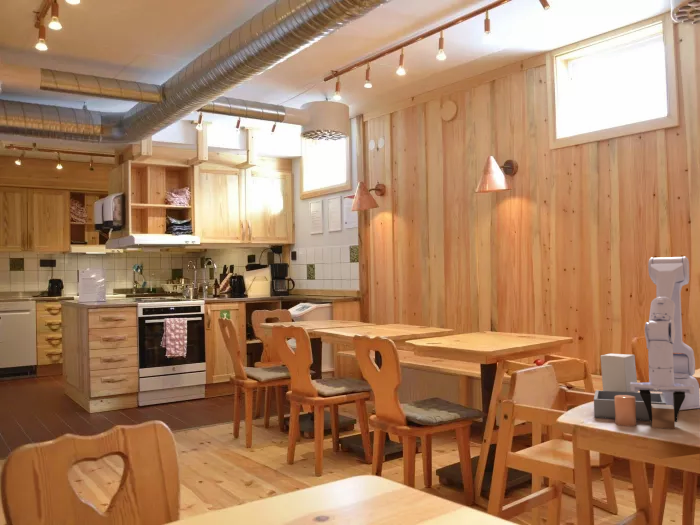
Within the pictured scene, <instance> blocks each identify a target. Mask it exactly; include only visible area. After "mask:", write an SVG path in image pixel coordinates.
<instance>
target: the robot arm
mask: <svg viewBox="0 0 700 525" xmlns="http://www.w3.org/2000/svg"><path fill="white" fill-rule="evenodd" d="M647 263H648V264H647V266H648V267H647V268H648V275H649V278H650V279H651V282H652V283H653V284H654V285H656V289H655V290H656V293H655V295H656V296H655V298H653V299H652V300H651V302H650V307H649V308H650V309H649V317H648V322H647V321H646V322H645V324H644V337H645V341H646V342H645V343H646V349H647V350H648V352H647V353H648V354H647V355H648V356H647V357H648V379H649V380H648V381H647V382H637V383H632V382H631V391H638V392H640V395H641V397H642V399H643V401H644V403H645V406H646V408H647V411H648V415H649V420H651V421H650V422H652V411H651V393H663V395H664V399H665V402H666V405H673V407H674V420H675V423H678V417H679V412H680V411H683V410H686V411H687V410H695V409H700V384H699V381H698V380H697V378H696V377H695V376H694V375H695V373H696V360H695V358H696V357H695V352H694V350H693V348H692V347H691V346H689V345H688V344H686V343H685V342H684V341H683V318H682V297H681V292H682V288H683V286H685V285H688V284H689V281H690V261H689V258H688V257H687V256H672V257H671V256H668V257H667V256H666V257H665V256H663V257H653V256H651V257H650V258H649V260H648V262H647Z"/></svg>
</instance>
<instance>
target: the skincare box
mask: <svg viewBox="0 0 700 525" xmlns="http://www.w3.org/2000/svg"><path fill="white" fill-rule="evenodd" d="M600 367H601V368H600V369H601V381H602V383H601V384H602V391H622V392H639V391H631V382H632V383H638V379H637V369H636V367H637V366H636V355H635V354H629V353H627V354H623V353H607V354H601V355H600Z"/></svg>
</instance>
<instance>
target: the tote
mask: <svg viewBox="0 0 700 525" xmlns="http://www.w3.org/2000/svg"><path fill="white" fill-rule="evenodd" d="M650 393H651V404H662V405H666V402H665V399H664V395H663V393H662V392H650ZM616 395H630V396H634V397H635V401H636V421H641V422H642V421H643V422H652V421H651V420H649V415H648V411H647V408H646V406H645V403H644V401H643V399H642V397H641V395H640V391H638V392H622V391H603V390H598V389H596V390H595V393H594V397H593V411H594V412H593V415H594V417H593V418H595V419H609V420H610V419H611V420H612V419H613V420H615V396H616Z"/></svg>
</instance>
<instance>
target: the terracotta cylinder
mask: <svg viewBox="0 0 700 525" xmlns="http://www.w3.org/2000/svg"><path fill="white" fill-rule="evenodd" d="M614 420H615V422H614V423H615V424H616V425H618V426H623V427H634V426H637V420H636V401H635V397H634V396H630V395H616V396H615V419H614Z"/></svg>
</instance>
